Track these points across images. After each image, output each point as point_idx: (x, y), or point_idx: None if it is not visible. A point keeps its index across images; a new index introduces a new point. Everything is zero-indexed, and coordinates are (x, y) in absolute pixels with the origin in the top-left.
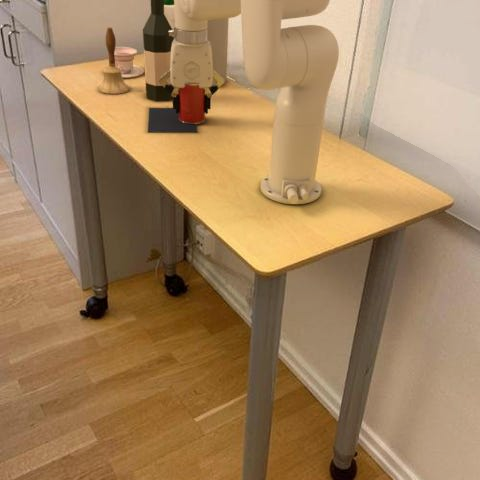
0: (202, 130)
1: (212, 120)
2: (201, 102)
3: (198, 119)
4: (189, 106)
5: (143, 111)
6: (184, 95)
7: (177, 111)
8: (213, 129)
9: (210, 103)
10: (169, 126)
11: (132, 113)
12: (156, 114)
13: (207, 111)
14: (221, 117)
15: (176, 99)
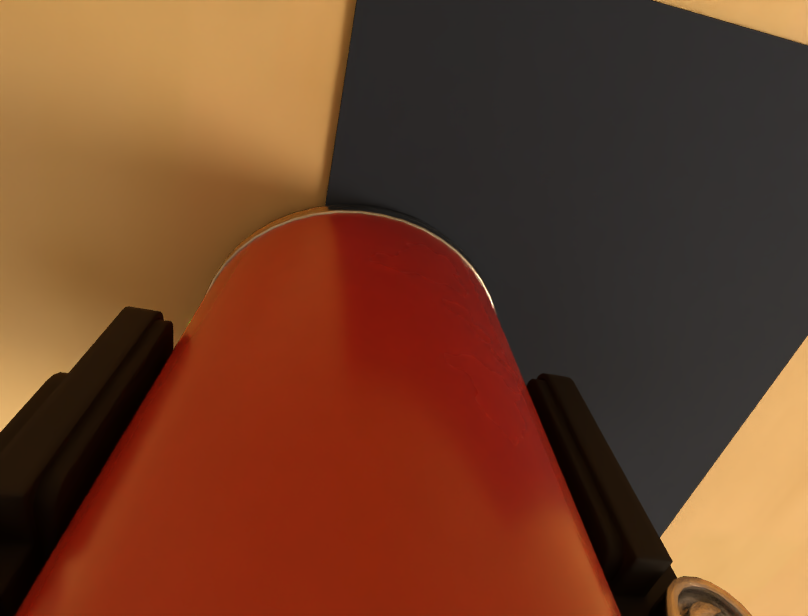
0: (277, 5)
1: (115, 306)
2: (167, 404)
3: (292, 234)
4: (437, 344)
5: (692, 543)
6: (578, 566)
7: (556, 387)
8: (104, 7)
9: (5, 429)
10: (657, 213)
11: (789, 523)
12: (633, 486)
13: (121, 321)
14: (7, 364)
15: (641, 532)
